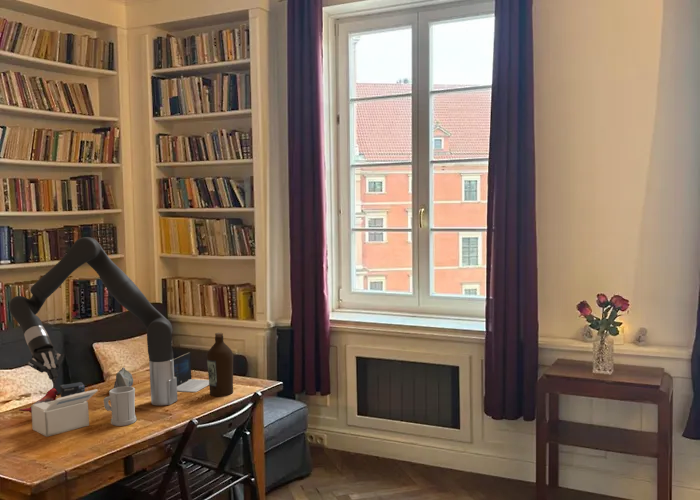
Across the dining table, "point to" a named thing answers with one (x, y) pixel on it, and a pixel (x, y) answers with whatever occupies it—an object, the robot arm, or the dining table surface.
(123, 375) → the mineral rock
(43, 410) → the carton
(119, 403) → the cup
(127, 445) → the dining table surface
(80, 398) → the flap
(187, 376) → the laptop
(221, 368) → the brown bottle
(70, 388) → the box
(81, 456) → the dining table surface
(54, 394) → the decorative bird figurine
